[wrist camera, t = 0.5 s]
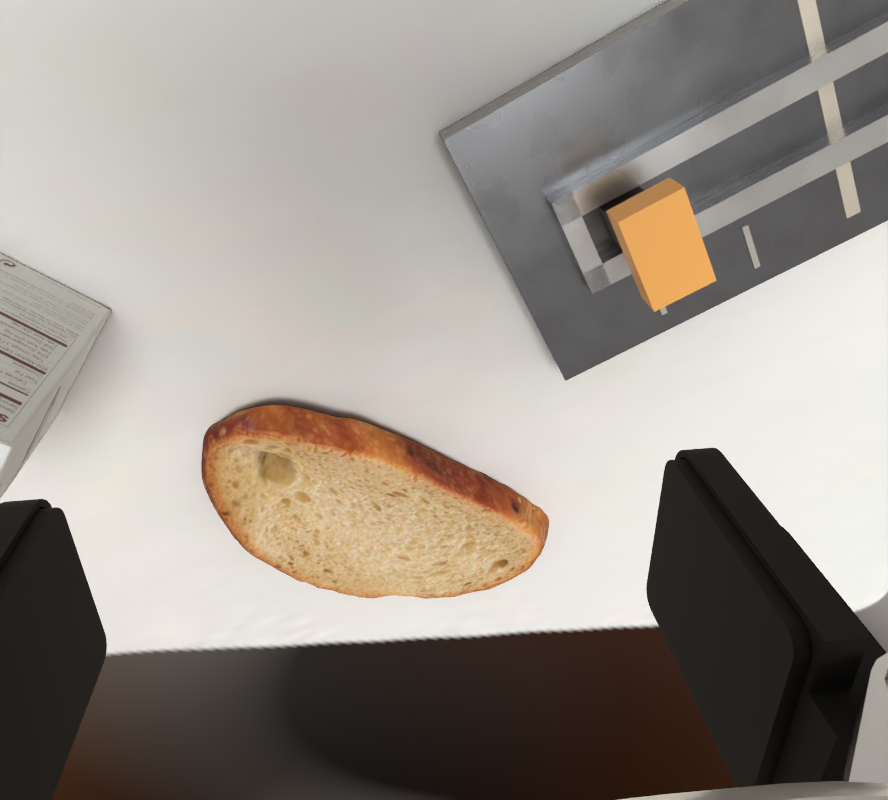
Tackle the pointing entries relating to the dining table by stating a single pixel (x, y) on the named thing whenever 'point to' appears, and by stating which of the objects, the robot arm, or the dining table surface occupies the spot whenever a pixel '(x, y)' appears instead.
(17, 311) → the supplement box
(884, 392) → the dining table surface
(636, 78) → the console
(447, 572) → the bread slice
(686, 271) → the fader tab
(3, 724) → the robot arm
